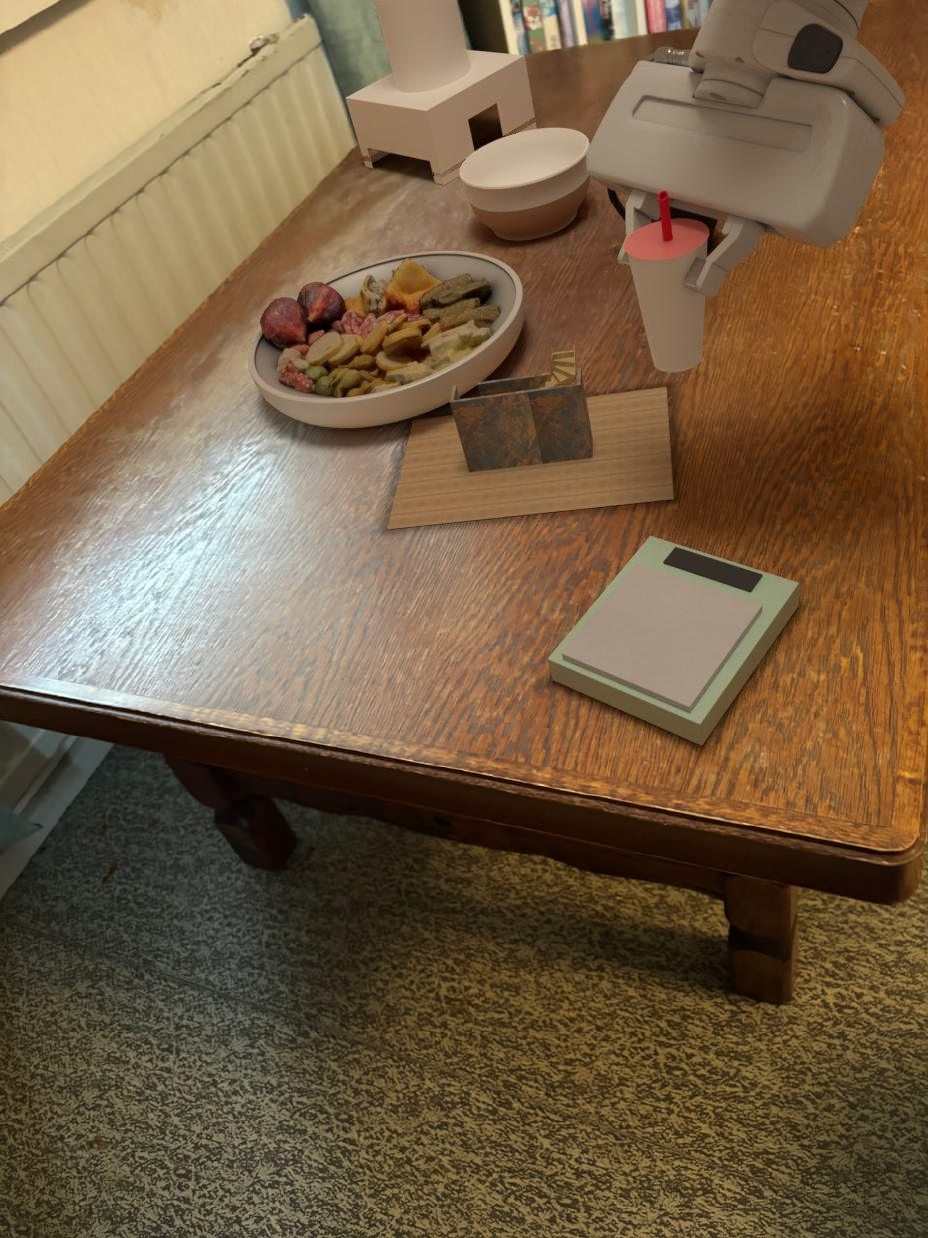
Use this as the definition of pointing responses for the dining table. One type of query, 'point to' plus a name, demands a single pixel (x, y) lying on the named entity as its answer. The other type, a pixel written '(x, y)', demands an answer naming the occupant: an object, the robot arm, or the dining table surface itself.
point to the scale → (675, 637)
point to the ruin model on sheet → (535, 451)
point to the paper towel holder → (435, 88)
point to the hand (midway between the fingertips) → (663, 279)
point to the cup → (669, 287)
